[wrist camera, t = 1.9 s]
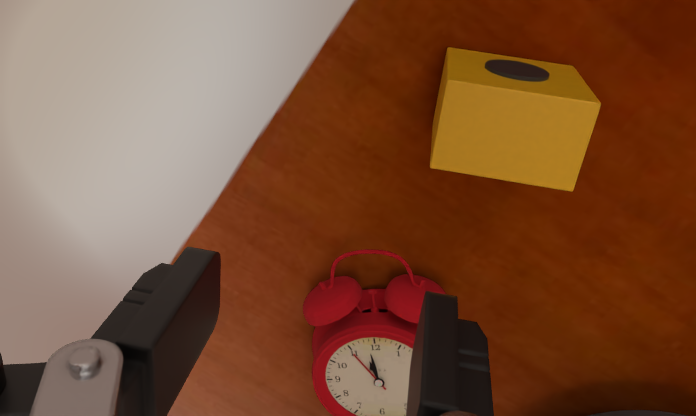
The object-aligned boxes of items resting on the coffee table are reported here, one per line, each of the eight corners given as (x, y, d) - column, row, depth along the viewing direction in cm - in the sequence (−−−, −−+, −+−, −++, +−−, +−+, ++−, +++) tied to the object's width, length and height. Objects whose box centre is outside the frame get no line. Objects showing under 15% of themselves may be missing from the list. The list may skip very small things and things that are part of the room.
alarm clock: (318, 447, 45) (270, 312, 35) (329, 375, 49) (290, 239, 40) (461, 451, 43) (451, 309, 33) (459, 375, 47) (449, 233, 38)
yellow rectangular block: (432, 122, 36) (429, 168, 30) (448, 43, 34) (447, 75, 28) (558, 142, 36) (581, 193, 29) (582, 63, 33) (612, 100, 27)
